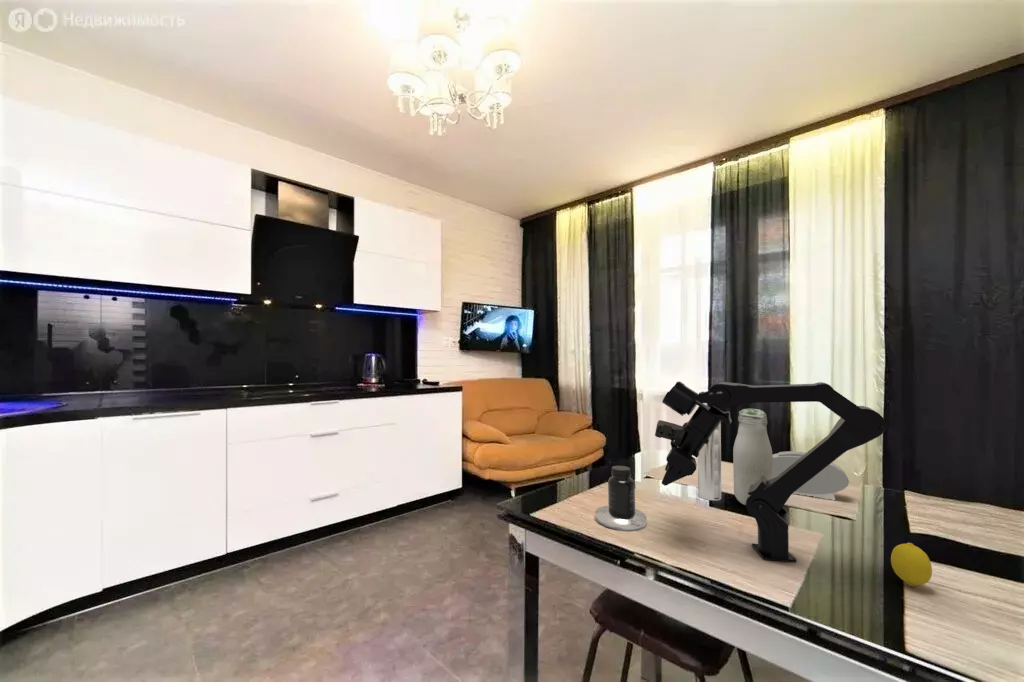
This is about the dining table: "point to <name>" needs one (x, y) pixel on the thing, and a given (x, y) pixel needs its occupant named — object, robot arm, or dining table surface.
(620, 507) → the supplement bottle
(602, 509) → the metal plate
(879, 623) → the dining table surface
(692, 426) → the robot arm
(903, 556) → the lemon
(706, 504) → the dining table surface
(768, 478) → the glass bottle
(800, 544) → the dining table surface
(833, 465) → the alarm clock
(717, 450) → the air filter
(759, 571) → the dining table surface
